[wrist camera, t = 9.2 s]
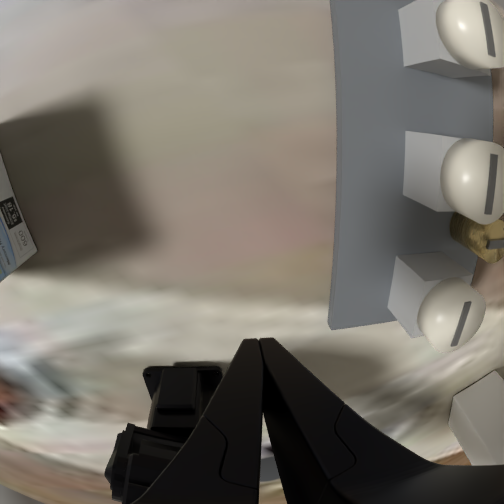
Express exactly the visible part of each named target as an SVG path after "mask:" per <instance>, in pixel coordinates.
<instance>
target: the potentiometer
mask: <svg viewBox="0 0 504 504" xmlns="http://www.w3.org/2000/svg"><path fill="white" fill-rule="evenodd" d="M450 234H451V237H452V238H453V240H455V241H456V242H458V243H459V244H461V245H462V246H464V247H465V248H467V249H468V250H470V251H472V252H473V253H475V254H476V255H478V256H479V257H481V258H482V259H484V260H485V261H486V262H488V263H495V262H497V261H499V260H500V259H501V258H502V257H503V256H504V221H502V220H500V219H498V220H496V221H495V222H493V223H490V224H479V223H477V222H475V221H473V220H471V219H469V218H467V217H466V216H464V215H462V214H460V213H458V212H456V211H455V212H454V214H453V216H452V218H451V221H450Z"/></svg>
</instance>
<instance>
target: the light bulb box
mask: <svg viewBox="0 0 504 504" xmlns="http://www.w3.org/2000/svg"><path fill="white" fill-rule="evenodd" d="M36 252H37V249H36V246H35V244H34V242H33V240H32V237H31V235H30V233H29V231H28V228H27V226H26V223H25V221H24V218H23V216H22V213H21V211H20V208H19V206H18V203H17V201H16V198H15V195H14V193H13V190H12V187H11V184H10V181H9V178H8V175H7V172H6V169H5V166H4V163H3V159H2V156H1V153H0V282H1V281H2V280H4V279H5V278H6V277H7V276H8V275H9V274H11V273H12V272H13V271H14V270H15V269H17V268H18V267H19V266H20V265H21V264H23V263H24V262H25V261H26V260H27V259H29V258H30V257H31V256H32V255H34V254H35V253H36Z"/></svg>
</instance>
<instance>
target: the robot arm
mask: <svg viewBox="0 0 504 504" xmlns="http://www.w3.org/2000/svg"><path fill="white" fill-rule="evenodd" d="M214 372H218V373H214ZM148 373H150V374H148ZM143 377H144V380H145V383H146V386H147V389H148V392H149V394H150V397H151V400H152V404H151V409H150V414H149V419H148V425H147V429H146V428H142V427H138V426H135V425H134V424H131V423H128V424H127V427H126V430H125V431H124V430H123V432H122V433H119V434H118V435H117V439H116V443H115V447H114V451H113V453H112V456H111V458H110V460H109V462H108V464H107V467H106V469H105V477H106V479H107V480H108V482H109V483H110V489H111V490H112V500H115V501H119V502H122V504H259V484H260V464H261V442H262V418H263V414H264V418H265V422H266V426H267V430H268V434H269V438H270V442H271V446H272V449H273V453H274V457H275V461H276V464H277V468H278V472H279V476H280V479H281V483H282V487H283V490H284V494H285V498H286V501H287V504H504V464H503V465H472V466H463V465H441V464H437V463H433V462H430V461H428V460H426V459H424V458H422V457H420V456H418V455H417V454H415V453H414V452H412V451H410V450H409V449H407V448H406V447H404V446H402V445H401V444H399V443H398V442H396V441H395V440H393V439H391V438H390V437H388V436H387V435H385V434H384V433H382V432H381V431H379V430H378V429H377V428H375V427H374V426H372V425H371V424H370V423H368V422H367V421H366V420H365V419H363V418H362V417H361V416H360V415H358V414H357V413H356V412H355V411H354V410H352V409H351V408H350V407H349V406H348V405H347V404H345V403H344V402H343V401H342V400H341V399H340V398H339V397H338V396H336V395H335V394H334V393H333V392H332V391H331V390H330V389H329V388H327V387H326V386H325V385H324V384H323V383H322V382H321V381H320V380H319V379H318V378H316V377H315V376H314V375H313V374H312V373H311V372H310V371H309V370H308V369H307V368H305V367H304V366H303V365H302V364H301V363H300V362H299V361H298V360H297V359H296V358H295V357H294V356H293V355H291V354H290V353H289V352H288V351H287V350H286V349H285V348H284V347H283V346H282V345H281V344H280V343H279V342H278V341H277V340H275V339H274V338H260V339H259V341H258V339H256V338H254V339H244V340H243V341H242V343H241V344H240V346H239V348H238V350H237V352H236V354H235V356H234V358H233V360H232V361H231V363H230V365H229V367H228V369H227V371H226V373H225V374H224V376H223V373H222V369H221V368H220V367H217V366H211V367H180V368H145V369H144V371H143ZM344 404H345V405H344Z"/></svg>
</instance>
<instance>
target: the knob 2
mask: <svg viewBox="0 0 504 504" xmlns="http://www.w3.org/2000/svg"><path fill="white" fill-rule="evenodd" d="M485 310H486V304H485V300H484V298H483V296H482V295H481V294H480V293H478V292H477V291H476V290H475V289H474V288H472V287H471V286H470V285H469V284H468V283H466V282H465V281H464V280H462V279H461V278H457V277H452V278H448V279H445V280H443V281H441V282H440V283H438V284H437V285H436V286H434V287H433V288H432V289H431V290H430V291H429V293H428V294H427V295H426V297H425V298H424V300H423V301H422V303H421V305H420V308H419V311H418V315H417V325H418V328H419V330H420V331H421V332H422V334H423V335H424V336H425V337H426V338H427V340H428V341H429V342H430V343H431V345H432V346H433V347H434V349H435V350H436V351H438V352H441V353H449V352H452V351H455V350H457V349H459V348H460V347H462V346H463V345H465V344H466V343H467V342H468V341H469V340H470V339H471V338H472V337H473V336H474V334H475V333H476V332H477V330H478V329H479V327H480V325H481V323H482V321H483V318H484V315H485Z"/></svg>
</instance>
